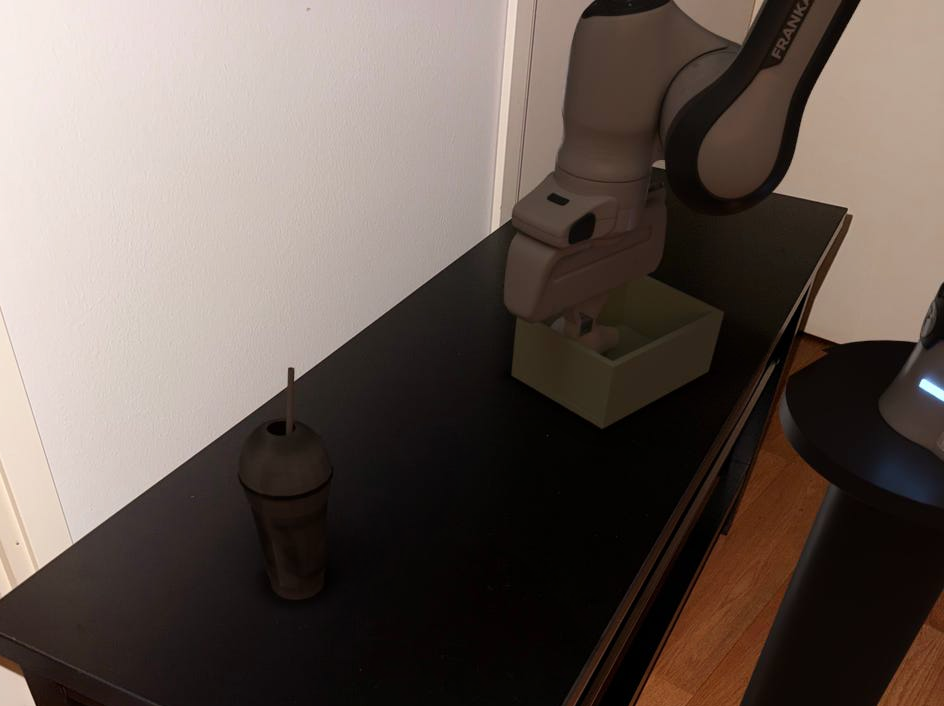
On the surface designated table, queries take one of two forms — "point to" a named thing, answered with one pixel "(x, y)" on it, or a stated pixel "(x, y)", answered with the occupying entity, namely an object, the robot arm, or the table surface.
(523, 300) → the robot arm
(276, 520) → the beverage cup
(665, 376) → the bin
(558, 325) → the lightbulb
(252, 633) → the table surface
